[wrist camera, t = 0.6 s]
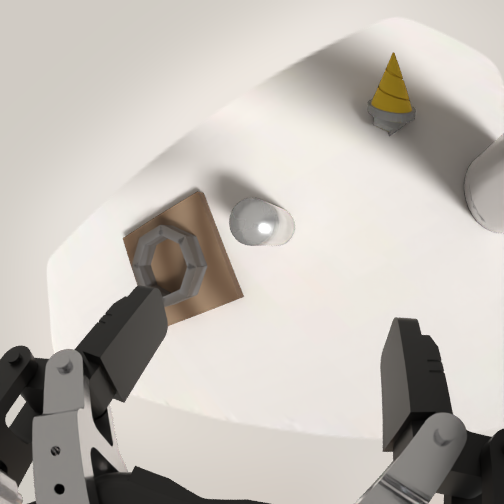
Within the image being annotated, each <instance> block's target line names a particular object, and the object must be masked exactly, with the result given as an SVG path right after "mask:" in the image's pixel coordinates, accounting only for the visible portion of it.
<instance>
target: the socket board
mask: <svg viewBox="0 0 504 504" xmlns="http://www.w3.org/2000/svg"><path fill="white" fill-rule="evenodd" d="M123 241H124V244H125V247H126V251H127V254H128V257H129V260H130V264H131V267H132V270H133V273H134V276H135V279H136V282H137V285H138V286H139V285H142V286H147V287H153V288H158V289H159V290H160V292H161V295H162V300H163V304H164V308H165V312H166V316H167V321H168V326H169V325H172V324H175V323H177V322H180V321H183V320H185V319H188V318H190V317H193V316H196V315H198V314H201V313H204V312H206V311H209V310H211V309H214V308H216V307H219V306H222V305H224V304H227V303H229V302H232V301H234V300H237V299H239V298H242V297H244V296H243V293H242V291H241V288H240V286H239V283H238V281H237V278H236V276H235V273H234V270H233V268H232V265H231V263H230V260H229V258H228V255H227V253H226V250H225V248H224V245H223V242H222V240H221V237H220V235H219V232H218V229H217V227H216V224H215V222H214V219H213V216H212V214H211V211H210V209H209V206H208V203H207V201H206V198H205V195H204V193H201V192H196V193H194V194H193V195H191V196H189V197H188V198H186V199H184V200H183V201H181V202H179V203H178V204H176V205H174V206H173V207H171V208H169V209H168V210H166V211H165V212H163V213H161V214H160V215H158V216H157V217H155V218H153V219H152V220H150V221H149V222H147V223H146V224H144V225H142V226H141V227H139V228H138V229H136V230H135V231H133V232H132V233H130V234H129V235H127V236H126V237H124V238H123Z"/></svg>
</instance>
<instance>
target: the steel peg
mask: <svg viewBox="0 0 504 504" xmlns="http://www.w3.org/2000/svg"><path fill="white" fill-rule="evenodd" d="M229 225H230V230H231V232H232V234H233V236H234V237H235V239H236V240H238V241H239V242H240V243H242V244H245V245H251V246H280V245H283V244H285V243H287V242H288V241H289V240H290V239H291V238H292V236H293V234H294V231H295V222H294V219H293V217H292V215H291V214H290V213H289V212H288V211H286V210H284V209H282V208H280V207H278V206H275V205H273V204H271V203H268V202H266V201H264V200H261V199H259V198H246V199H244V200H242V201H240V202H239V203H238V204H237V205H236V206H235V207H234V208H233V210H232V212H231V215H230V219H229Z"/></svg>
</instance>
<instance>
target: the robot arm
mask: <svg viewBox="0 0 504 504" xmlns="http://www.w3.org/2000/svg"><path fill="white" fill-rule="evenodd" d="M464 191H465V198H466V201H467V204H468V207H469V209H470V211H471V213H472V215H473V216H474V218H475V219H476V220H477V222H478V223H479V224H481V225H482V226H483V227H484V228H486V229H487V230H489V231H492V232H495V233H504V133H503V134H502V135H501V136H500V137H499V138H498V139H497V140H496V141H495V142H494V143H493V144H492V145H490V146H489V147H488V148H487V149H486V150H485V151H484V152H483V153H482V154H480V155H479V156H478V157H477V158H476V159H475V160H474V161H473V162H472V163H471V165H470V166H469V168H468V170H467V173H466V177H465V182H464ZM167 328H168V321H167V316H166V312H165V308H164V304H163V300H162V295H161V292H160V290H159V289H158V288H153V287H147V286H142V285H139V286H137V287H136V288H135V289H134V290H133V291H132V292H131V293H130V295H129V296H128V297H126V296H125V297H124V298H122V299H120V300H119V301H117V302H116V303H114V304H113V305H112V306H111V307H110V308H109V310H108V311H107V312H106V314H105V315H103V317H102V318H101V319H100V320H99V323H98V322H97V324H96V325H95V326H94V327H93V328H92V329H91V331H90V332H89V333H88V334H87V335H86V337H85V338H84V339H83V340H82V341H81V343H80V344H79V345H78V346H77V347H76V349H75V350H72V349H65V350H61V351H59V352H57V353H55V354H54V355H53V356H52V357H51V358H50V359H42V358H34V357H33V355H32V353H31V352H30V350H29V349H28V348H27V347H25V346H16V347H13V348H12V349H10V350H9V351H7V352H6V353H5V354H4V356H3V357H2V358H1V359H0V504H22V502H23V497H22V495H21V494H20V493H18V487H19V485H20V483H21V481H22V479H23V477H24V475H25V474H26V472H27V470H28V468H29V466H30V464H31V463H32V461H33V473H34V487H35V496H36V501H34V502H31V503H29V504H269V503H263V502H257V501H252V500H217V499H204V498H201V497H199V496H197V495H196V494H194V493H192V492H190V491H189V490H186V489H185V488H184V487H182V486H180V485H179V484H177V483H175V482H174V481H172V480H171V479H169V478H166V477H163V476H160V475H158V474H155V473H152V472H150V471H147V470H145V469H142V468H140V467H137V466H135V467H134V469H133V471H132V473H131V472H128V470H127V468H126V465H125V463H124V461H123V459H122V457H121V455H120V452H119V449H118V444H117V439H116V434H115V428H114V422H113V416H112V411H111V406H110V405H109V404H110V402H111V401H112V399H116V400H119V401H121V402H125V401H126V399H127V397H128V396H129V394H130V392H131V391H132V389H133V387H134V386H135V384H136V383H137V381H138V379H139V378H140V376H141V374H142V373H143V371H144V370H145V368H146V366H147V365H148V363H149V361H150V360H151V358H152V357H153V355H154V353H155V352H156V350H157V349H158V347H159V345H160V344H161V342H162V341H163V339H164V337H165V335H166V333H167ZM443 371H444V369H443V365H442V362H441V356H440V353H439V349H438V346H437V345H436V343H435V342H434V341H433V339H432V338H431V337H430V335H421V331H420V327H419V323H418V320H417V319H411V318H394V320H393V322H392V325H391V328H390V331H389V334H388V337H387V340H386V343H385V346H384V348H383V352H382V356H381V385H382V411H383V452H393V462H392V463H391V464H390V465H389V466H388V468H387V469H386V470H385V471H384V472H383V473H382V475H381V476H380V477H379V478H378V479H377V480H376V481H375V482H374V483H373V485H372V486H371V487H370V488H369V489H368V490H367V491H366V492H365V493H364V494H363V495H362V496H361V497H360V498H359V499H358V500H357V501H356V502H355V503H354V504H428V503H429V502H430V500H431V498H432V497H433V496H434V494H435V493H440V494H444V504H504V429H501V430H499V431H498V432H497V433H496V434H495V435H494V436H493V437H489V436H484V435H481V434H476V433H472V432H469V431H467V430H466V428H465V425H464V424H463V422H462V421H461V420H460V419H459V418H458V417H456V416H455V415H453V412H452V407H451V402H450V397H449V392H448V387H447V382H446V378H445V373H443ZM20 394H21V396H22V397H23V398H24V399H25V401H26V403H25V404H24V406H23V408H22V409H21V410H20V412H19V414H18V415H17V417H16V418H15V420H14V421H13V423H12V424H11V426H10V427H9V428H8V427H7V425H6V422H5V417H6V414H7V412H8V411H9V409H10V408H11V406H12V405H13V404H14V402H15V401H16V399H17V398H18V396H19V395H20Z"/></svg>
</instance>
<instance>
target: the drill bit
mask: <svg viewBox="0 0 504 504" xmlns="http://www.w3.org/2000/svg"><path fill="white" fill-rule="evenodd" d="M402 79H403V77H402V74H401V71H400V67H399V65H398V62H397V60H396V56H395V53H394V52H393V53H392V56H391V58H390V60H389V63H388V65H387V68H386V70H385V72H384V74H383V77H382V79H381V81H380V84H379V86H378V88H377V91H376V93H375V95H374V97H373V99H372V100H370V101H368V113H369V114H370V115H372V116H374V123H373V125H374V126H376V127H379V128H381V129H384V130H386V131H389V136H390V135H392V134H393V133H394V132H396V131H397V130H398V129H400V128H401V127H403V126H404V125H405V124H406V122H411V121H413V120H414V117H415V109H414V108H413V107H412V106H411V104H410V100H408V99H409V97H408V93H407V90H406V86H405V83H404V81H403V80H402Z"/></svg>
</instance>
